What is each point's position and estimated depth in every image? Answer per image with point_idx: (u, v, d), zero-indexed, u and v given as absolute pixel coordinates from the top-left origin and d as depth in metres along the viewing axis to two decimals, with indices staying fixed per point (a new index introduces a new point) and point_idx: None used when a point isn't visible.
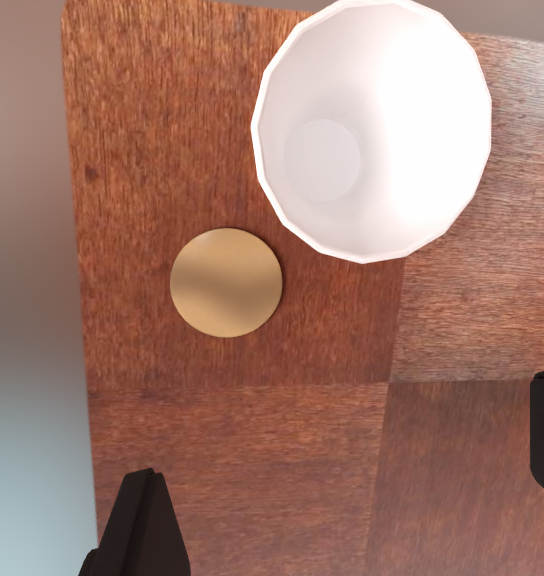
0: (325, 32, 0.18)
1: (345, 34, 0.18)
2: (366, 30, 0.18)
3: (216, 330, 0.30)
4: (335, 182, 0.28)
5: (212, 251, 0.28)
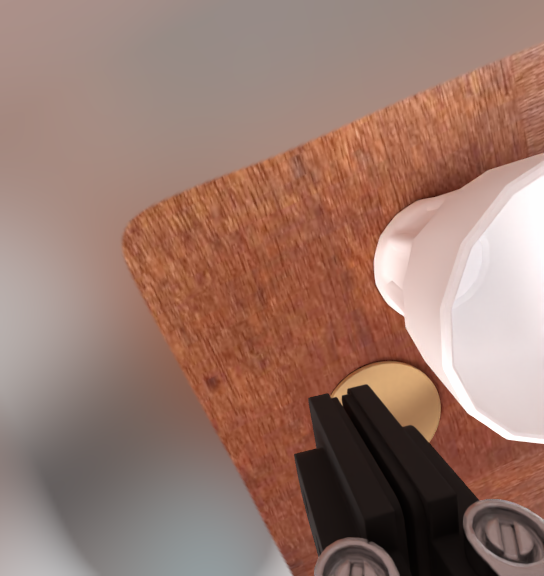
0: None
1: None
2: None
3: None
4: None
5: None
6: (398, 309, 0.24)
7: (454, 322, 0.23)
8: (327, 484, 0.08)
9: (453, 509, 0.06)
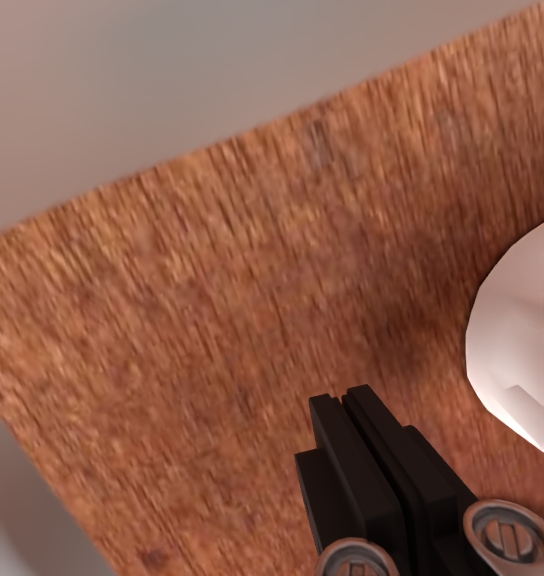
0: None
1: None
2: None
3: None
4: None
5: None
6: (518, 430, 0.12)
7: None
8: (327, 484, 0.08)
9: (453, 509, 0.06)
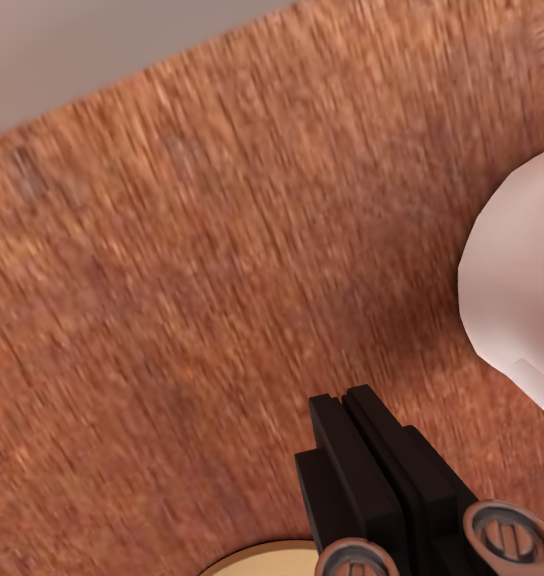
0: None
1: None
2: None
3: None
4: None
5: None
6: None
7: None
8: (327, 484, 0.08)
9: (453, 509, 0.06)
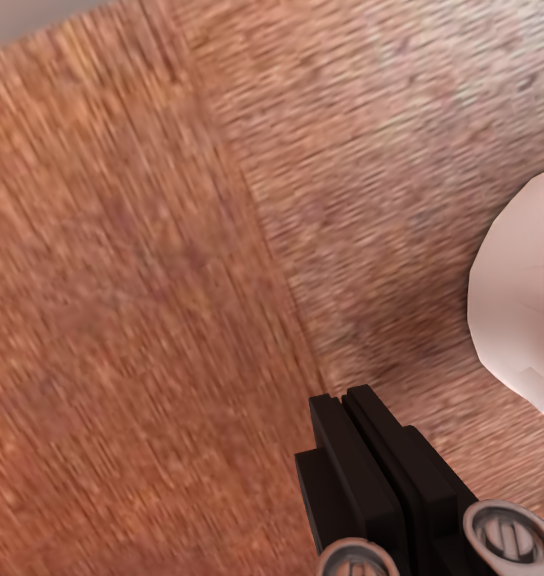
0: None
1: None
2: None
3: None
4: None
5: None
6: None
7: None
8: (328, 484, 0.07)
9: (453, 509, 0.06)
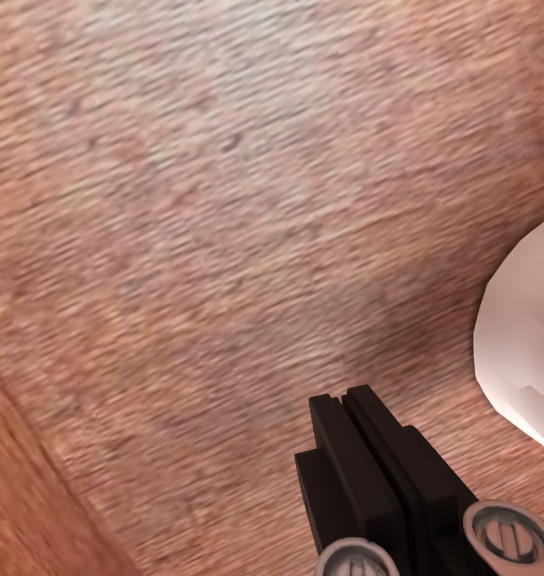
0: None
1: None
2: None
3: None
4: None
5: None
6: (530, 433, 0.12)
7: None
8: (327, 484, 0.07)
9: (453, 509, 0.06)
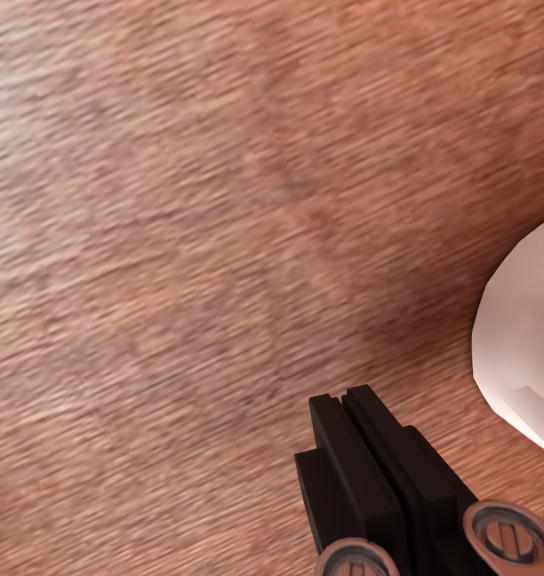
0: None
1: None
2: None
3: None
4: None
5: None
6: (527, 433, 0.12)
7: None
8: (327, 484, 0.08)
9: (453, 509, 0.06)
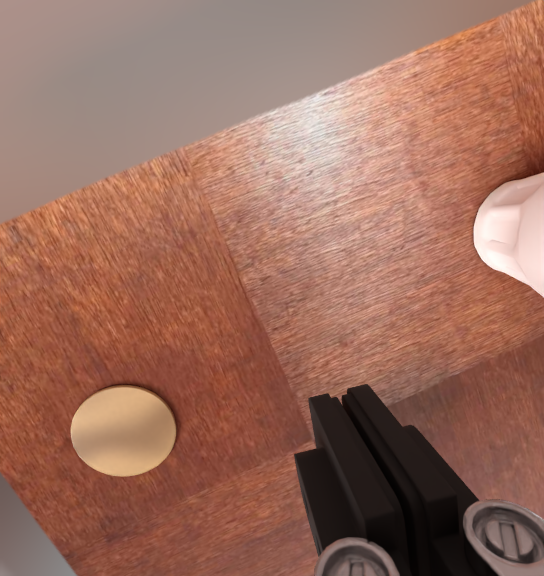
0: None
1: None
2: None
3: (136, 469, 0.33)
4: None
5: (96, 414, 0.32)
6: (493, 262, 0.32)
7: None
8: (327, 484, 0.08)
9: (453, 509, 0.06)
